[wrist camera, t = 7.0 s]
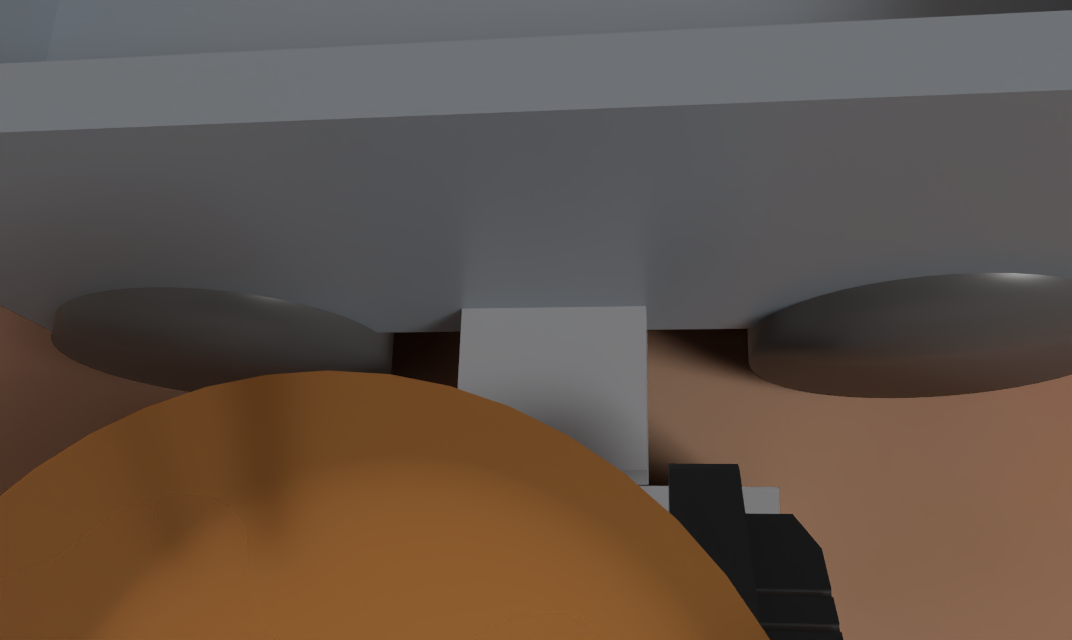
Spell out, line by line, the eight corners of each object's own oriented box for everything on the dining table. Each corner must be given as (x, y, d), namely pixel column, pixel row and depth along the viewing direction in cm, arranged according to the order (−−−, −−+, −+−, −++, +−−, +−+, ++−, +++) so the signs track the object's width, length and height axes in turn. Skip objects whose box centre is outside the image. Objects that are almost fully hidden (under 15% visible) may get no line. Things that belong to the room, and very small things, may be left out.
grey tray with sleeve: (972, -187, 19) (1218, -838, 10) (1137, 961, 13) (2022, 1569, 4) (234, -132, 20) (-52, -645, 12) (75, 888, 14) (-688, 1218, 6)
